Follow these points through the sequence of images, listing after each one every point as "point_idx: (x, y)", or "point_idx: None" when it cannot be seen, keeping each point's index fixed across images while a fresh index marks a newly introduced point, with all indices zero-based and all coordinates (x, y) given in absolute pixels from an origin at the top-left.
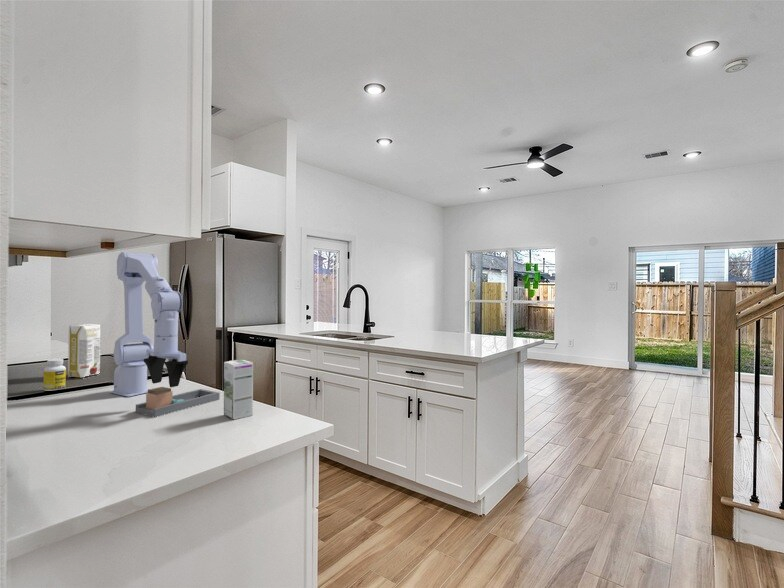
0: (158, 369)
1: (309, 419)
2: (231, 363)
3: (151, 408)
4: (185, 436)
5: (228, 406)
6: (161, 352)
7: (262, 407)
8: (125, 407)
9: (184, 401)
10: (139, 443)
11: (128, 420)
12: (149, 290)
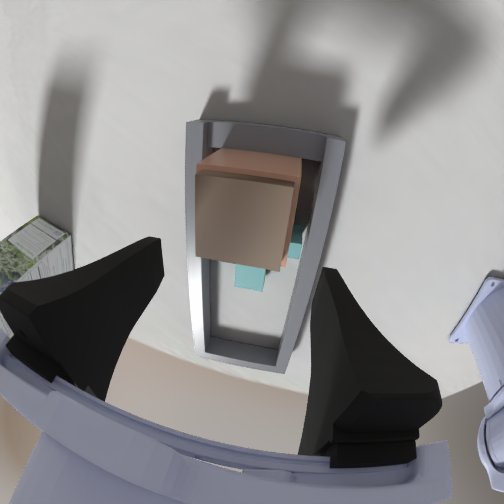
0: (319, 361)
1: None
2: None
3: (258, 152)
4: (26, 89)
5: (32, 236)
6: (44, 442)
7: None
8: (430, 178)
9: (192, 255)
10: (64, 3)
11: (260, 47)
12: None
